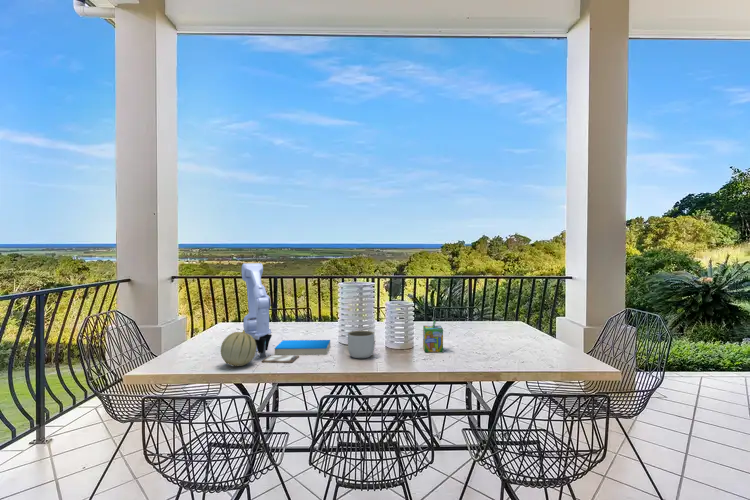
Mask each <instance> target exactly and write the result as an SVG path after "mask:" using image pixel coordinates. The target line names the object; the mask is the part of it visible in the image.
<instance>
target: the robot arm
mask: <svg viewBox="0 0 750 500" xmlns="http://www.w3.org/2000/svg"><path fill="white" fill-rule="evenodd" d="M263 273H264V266H263V264H262V263H261V262H259V263H257V262H256V263H255V262H254V263H253V262H252V263H245V262H244V263H242V265H241V278H242V281H244V282H245V284H246V291H247V292H246V293H247V306H248V313H247V314H246V315H245V316H244V317H243V324H242V325H243V326H242V327H243V330H244V331H245V333H247V334H249V335H251V336H252V337H253V338H254V340H255V342H256V347H257V348H256V352H258V354H260V353H263V352H264V345H265V341H266V351H268V348H269V345H270V341H271V338H272V336H273V335H272V329H271V328H270V309H271V306H272V304H271V298H270V296H269V294H267V290H266V287H265V286H264V285H263V284H262V276H263Z"/></svg>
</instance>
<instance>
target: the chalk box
mask: <svg viewBox="0 0 750 500" xmlns="http://www.w3.org/2000/svg"><path fill="white" fill-rule="evenodd" d="M436 323H437V321H436V320H435V319H434V320H433V323H432V325H423V328H422V329H423V330H422V336H423V337H422V338H423V339H422V348H423V351H424V353H444V328H443V326H441V325H436Z"/></svg>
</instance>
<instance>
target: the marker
mask: <svg viewBox="0 0 750 500" xmlns="http://www.w3.org/2000/svg"><path fill="white" fill-rule="evenodd" d="M259 355H260V356H259V357H260V358H261V359H265V358H267V357H266V356H267V353H266V341H265V345H264V352H263V353H259Z"/></svg>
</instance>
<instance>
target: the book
mask: <svg viewBox="0 0 750 500" xmlns="http://www.w3.org/2000/svg"><path fill="white" fill-rule="evenodd" d="M330 348H331V340H330V339H305V340H304V339H299V340H298V339H296V340H295V339H293V340H292V339H290V340H289V339H287V340H285V339H284V340H281V342H279V344H277V345H276V346H275V347H274V355H287V356H318V355H319V356H320V355H323V356H325V355H326V356H327V354H328V352H329V350H330Z"/></svg>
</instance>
